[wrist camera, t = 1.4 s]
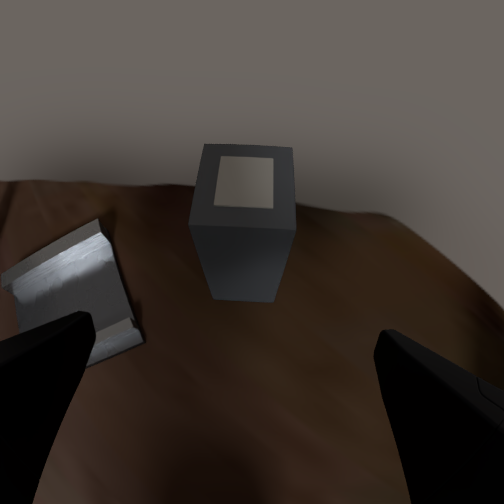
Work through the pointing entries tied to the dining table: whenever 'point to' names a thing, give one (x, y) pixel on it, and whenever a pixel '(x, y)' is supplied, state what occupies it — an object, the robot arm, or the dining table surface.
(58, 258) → the din rail
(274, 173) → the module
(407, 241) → the dining table surface
